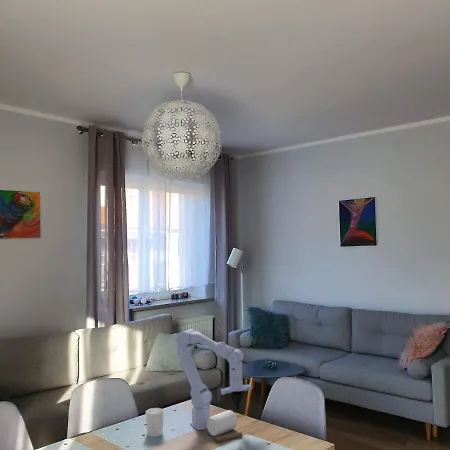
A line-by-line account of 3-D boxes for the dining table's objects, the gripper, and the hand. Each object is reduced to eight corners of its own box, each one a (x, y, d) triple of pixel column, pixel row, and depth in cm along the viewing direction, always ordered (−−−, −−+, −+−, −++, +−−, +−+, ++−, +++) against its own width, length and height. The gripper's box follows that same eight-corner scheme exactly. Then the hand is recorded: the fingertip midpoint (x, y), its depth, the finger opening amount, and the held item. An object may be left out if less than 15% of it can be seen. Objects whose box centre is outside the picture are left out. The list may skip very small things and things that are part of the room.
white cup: (167, 432, 205) (166, 409, 206) (157, 438, 198) (157, 414, 198) (152, 429, 208) (152, 407, 209) (142, 436, 201) (141, 412, 202)
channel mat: (205, 431, 204) (205, 427, 204) (228, 426, 209) (228, 422, 210) (217, 442, 193) (217, 437, 193) (242, 436, 198) (242, 432, 198)
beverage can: (238, 411, 204) (218, 419, 195) (238, 430, 203) (219, 439, 195) (225, 407, 209) (205, 415, 201) (225, 426, 209) (206, 433, 200)
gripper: (225, 381, 199) (226, 413, 198) (254, 377, 205) (255, 408, 204) (218, 377, 205) (219, 409, 204) (247, 373, 211) (247, 403, 211)
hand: (236, 408), depth 205 cm, fingers closed
